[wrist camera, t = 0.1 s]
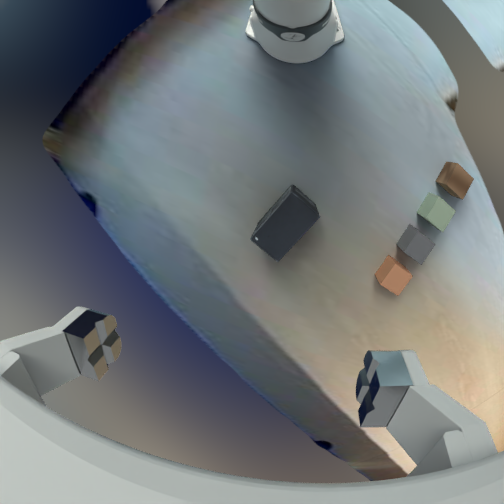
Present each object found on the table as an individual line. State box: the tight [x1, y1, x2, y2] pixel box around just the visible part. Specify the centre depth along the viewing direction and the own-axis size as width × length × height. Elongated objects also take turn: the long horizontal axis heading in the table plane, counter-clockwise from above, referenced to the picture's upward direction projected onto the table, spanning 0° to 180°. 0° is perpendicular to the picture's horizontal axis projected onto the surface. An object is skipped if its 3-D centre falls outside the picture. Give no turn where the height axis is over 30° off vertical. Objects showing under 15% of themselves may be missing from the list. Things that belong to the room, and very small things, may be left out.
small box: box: [251, 185, 320, 262], centre depth 50 cm, size 11×6×10 cm, turn 141°
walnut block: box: [436, 162, 474, 200], centre depth 44 cm, size 5×5×5 cm
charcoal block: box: [397, 224, 435, 265], centre depth 50 cm, size 5×5×5 cm
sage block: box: [417, 193, 456, 232], centre depth 47 cm, size 5×5×5 cm
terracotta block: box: [375, 255, 413, 296], centre depth 53 cm, size 5×5×5 cm
